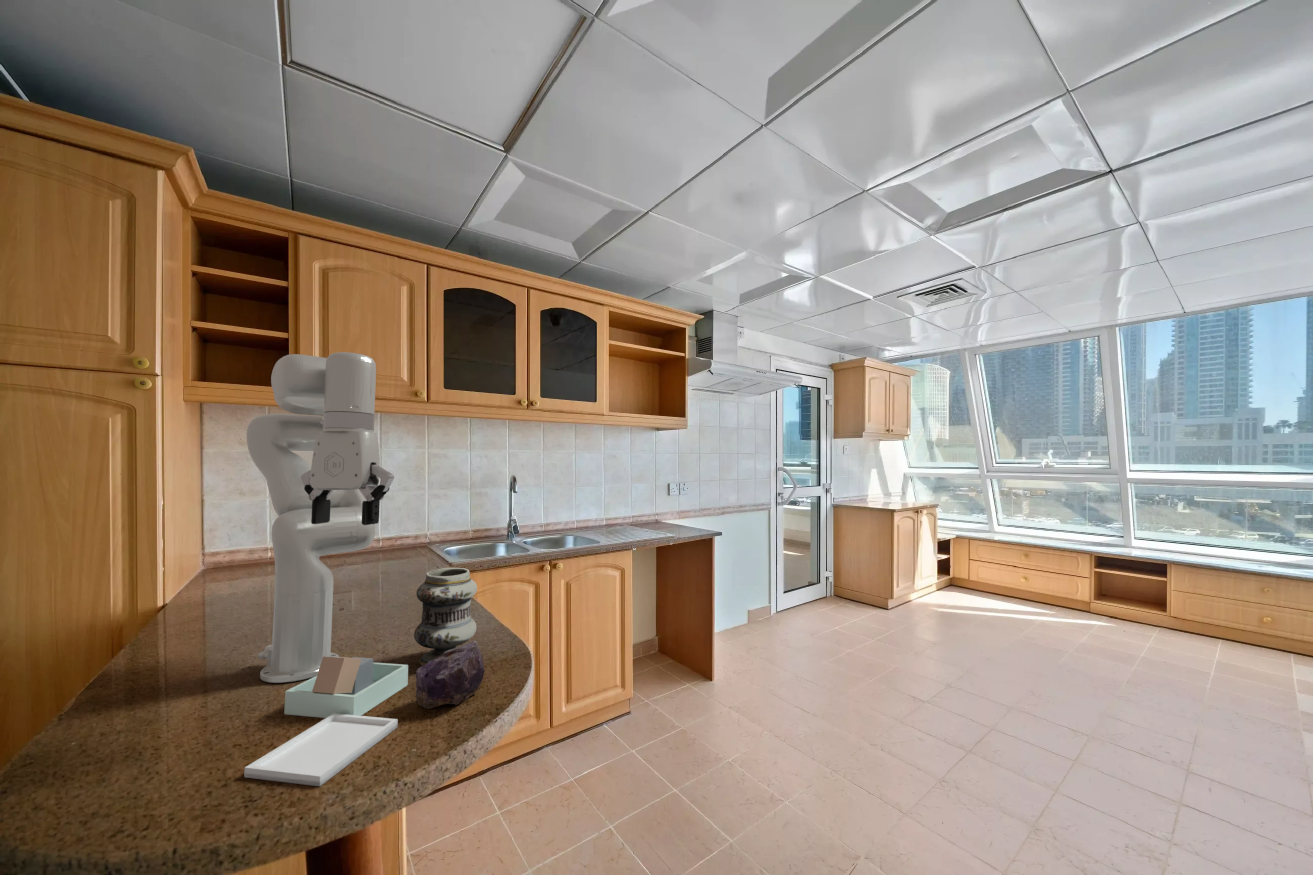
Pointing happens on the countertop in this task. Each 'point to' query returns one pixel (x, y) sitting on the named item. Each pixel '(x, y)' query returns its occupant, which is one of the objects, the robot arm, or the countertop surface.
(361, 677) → the matte grey cube
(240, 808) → the countertop surface
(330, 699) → the seafoam storage bin
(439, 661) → the rock
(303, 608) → the robot arm
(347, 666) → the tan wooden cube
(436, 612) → the apothecary jar
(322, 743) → the tray
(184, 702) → the countertop surface
